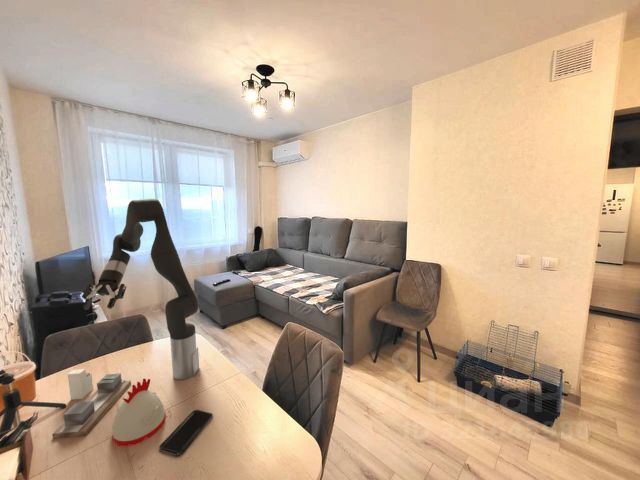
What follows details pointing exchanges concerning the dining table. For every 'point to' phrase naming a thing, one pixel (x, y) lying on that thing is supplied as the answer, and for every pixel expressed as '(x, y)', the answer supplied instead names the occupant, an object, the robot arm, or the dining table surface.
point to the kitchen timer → (138, 416)
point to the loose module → (80, 383)
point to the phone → (185, 433)
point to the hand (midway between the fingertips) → (97, 308)
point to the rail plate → (96, 416)
